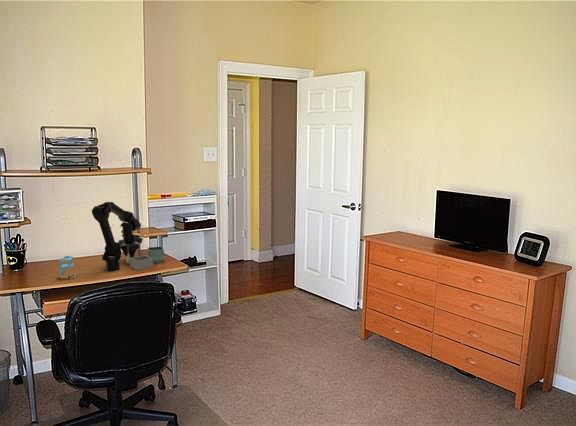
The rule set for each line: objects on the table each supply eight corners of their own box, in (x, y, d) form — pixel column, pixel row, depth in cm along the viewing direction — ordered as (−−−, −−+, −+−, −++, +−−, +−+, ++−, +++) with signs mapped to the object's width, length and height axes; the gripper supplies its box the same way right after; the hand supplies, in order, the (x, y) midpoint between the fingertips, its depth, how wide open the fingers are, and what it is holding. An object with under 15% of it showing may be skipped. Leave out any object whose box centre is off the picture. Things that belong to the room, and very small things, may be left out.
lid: (124, 267, 304) (123, 259, 303) (117, 263, 313) (117, 255, 312) (142, 264, 311) (141, 256, 310) (135, 260, 319) (134, 252, 319)
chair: (60, 276, 285) (58, 255, 283) (76, 275, 287) (74, 254, 285) (58, 280, 278) (55, 258, 276) (74, 279, 280) (72, 257, 278)
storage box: (136, 271, 293) (136, 261, 292) (130, 267, 301) (129, 257, 300) (153, 268, 299) (152, 258, 298) (146, 264, 307) (145, 255, 306)
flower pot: (165, 263, 309) (164, 249, 308) (149, 265, 306) (149, 250, 304) (162, 260, 317) (162, 246, 316) (148, 261, 314) (147, 247, 313)
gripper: (146, 233, 306) (148, 258, 309) (134, 228, 321) (136, 253, 323) (128, 235, 299) (130, 262, 302) (117, 231, 314) (118, 256, 316)
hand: (129, 258), depth 311 cm, fingers open, 9 cm apart
